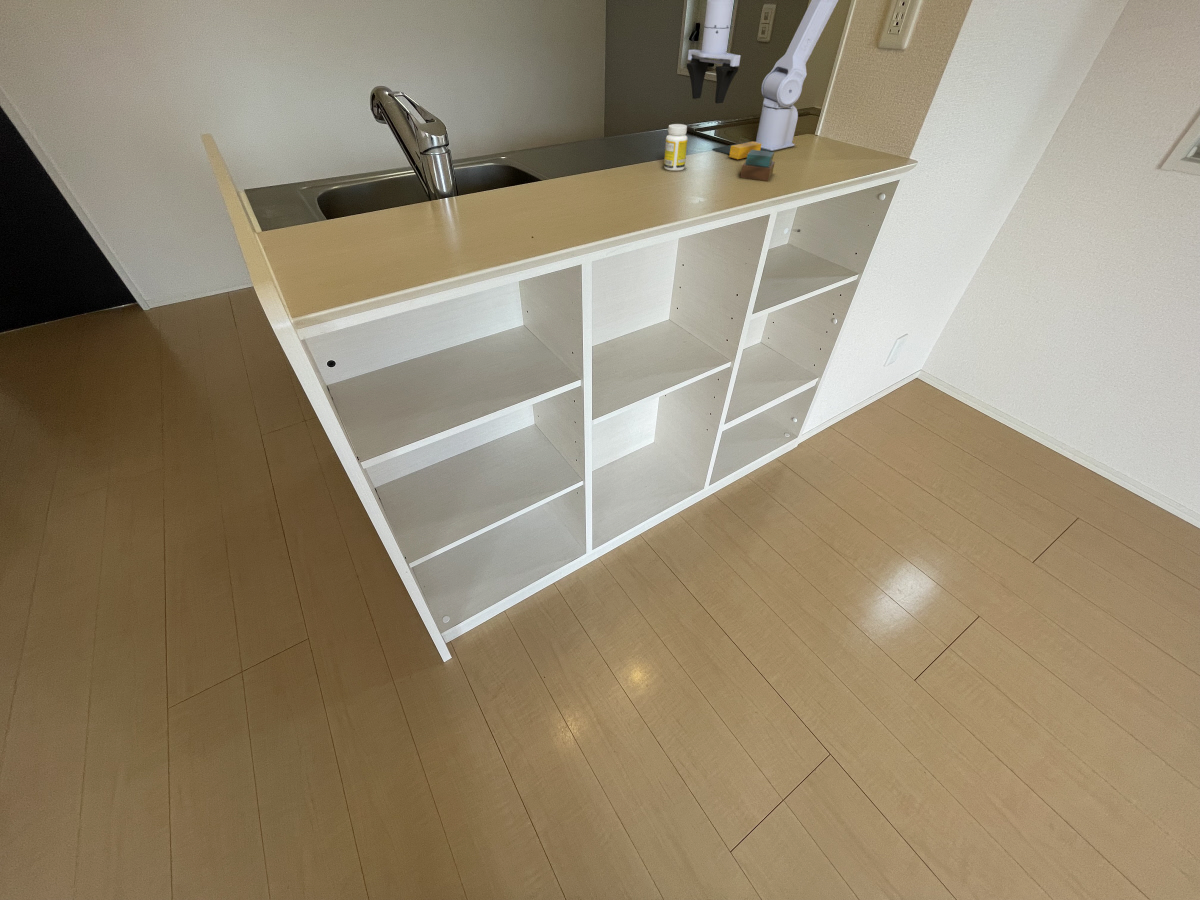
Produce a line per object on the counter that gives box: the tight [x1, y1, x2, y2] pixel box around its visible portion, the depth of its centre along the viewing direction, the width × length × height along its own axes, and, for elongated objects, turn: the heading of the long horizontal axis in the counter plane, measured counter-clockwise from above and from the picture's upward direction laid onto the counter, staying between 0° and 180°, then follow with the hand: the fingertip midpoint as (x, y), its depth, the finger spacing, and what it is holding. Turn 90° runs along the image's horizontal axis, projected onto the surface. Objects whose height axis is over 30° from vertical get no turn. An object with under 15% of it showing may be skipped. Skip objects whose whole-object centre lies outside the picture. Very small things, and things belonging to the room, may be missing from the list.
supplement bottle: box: [663, 123, 688, 172], centre depth 113 cm, size 5×5×8 cm
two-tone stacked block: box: [740, 150, 775, 182], centre depth 111 cm, size 6×6×4 cm
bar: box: [728, 141, 761, 160], centre depth 123 cm, size 8×3×2 cm, turn 127°
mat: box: [712, 140, 780, 156], centre depth 129 cm, size 14×10×1 cm
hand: (707, 100), depth 122 cm, fingers open, 7 cm apart
